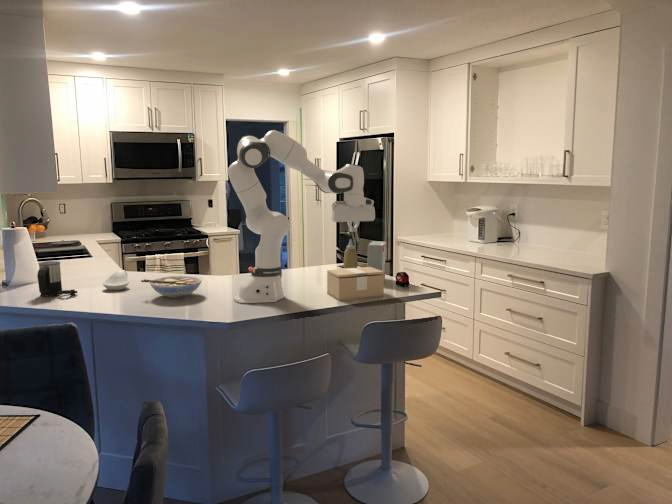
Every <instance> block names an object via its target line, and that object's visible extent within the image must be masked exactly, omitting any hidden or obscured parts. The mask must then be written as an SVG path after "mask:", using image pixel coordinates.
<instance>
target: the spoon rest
mask: <svg viewBox="0 0 672 504" xmlns="http://www.w3.org/2000/svg"><path fill="white" fill-rule="evenodd" d="M129 283H130V279H129V276H128V274H127V271H126V270H125V269H122V270H121V269H120V270H119V269H117V270H116V271H114V272H113V273H112V274H111V275H110V276H109V277H107V278H106V279H105V280H104V281H102V285H103V287H104V288H105V289H107V290H109V291H122V290H124V289H125V288H127V286H129Z"/></svg>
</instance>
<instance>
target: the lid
mask: <svg viewBox="0 0 672 504" xmlns="http://www.w3.org/2000/svg"><path fill="white" fill-rule="evenodd" d="M326 273H330V274H332V275H335V276H337V277H350V276H362V275H374V274H384V271H381V270H378V269H375V268H372V267H367V266H366V267H364V266H363V267H357V268H346V269H344V268H340V269H339V268H338V269H337V268H335V269H327V270H326Z"/></svg>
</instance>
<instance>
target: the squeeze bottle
mask: <svg viewBox="0 0 672 504" xmlns="http://www.w3.org/2000/svg"><path fill="white" fill-rule="evenodd" d="M353 244H354V243H353V240H352V239H351V238H349V242H348V245H346V248H345V250H344V253H343V254H344V255H343V262H342V263H343V265H342V266H343V269H346V268H358V266H359V262H358V251H357V249H356V245H353Z"/></svg>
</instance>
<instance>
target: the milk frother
mask: <svg viewBox="0 0 672 504" xmlns="http://www.w3.org/2000/svg"><path fill="white" fill-rule="evenodd" d="M37 264H38V267H39V268H38V271H37V276H36V277H37V284H38V291H39V293H40V296H41V297H56V296H60V295H70V296H75V295H76V294H78V293H79V292H78V290H75V289H74V288H73V289H67V290H66V289H64V290H63V285H62V273H61V261H59V260H58V261H57V260H56V261H55V260H54V261H53V260H52V261H51V260H50V261H49V260H48V261H40V262H38V263H37Z"/></svg>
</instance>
